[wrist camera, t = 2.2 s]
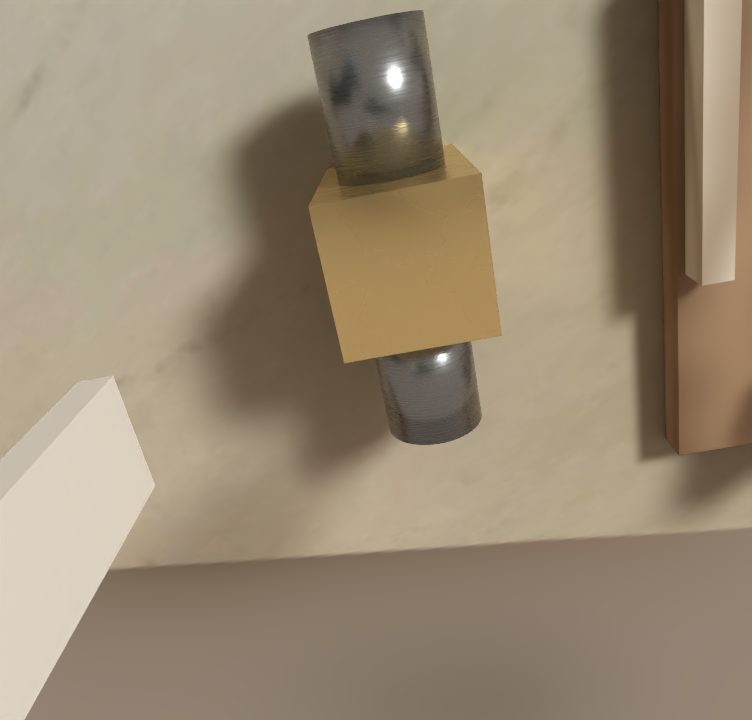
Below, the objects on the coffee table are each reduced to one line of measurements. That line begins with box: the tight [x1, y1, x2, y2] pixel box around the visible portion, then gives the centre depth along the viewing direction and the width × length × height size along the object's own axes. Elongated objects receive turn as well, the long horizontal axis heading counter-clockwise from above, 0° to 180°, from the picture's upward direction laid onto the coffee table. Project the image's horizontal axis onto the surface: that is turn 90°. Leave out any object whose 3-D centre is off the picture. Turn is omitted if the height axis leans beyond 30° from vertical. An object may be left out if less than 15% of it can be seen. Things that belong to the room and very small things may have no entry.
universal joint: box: [307, 10, 502, 445], centre depth 23 cm, size 5×14×8 cm, turn 11°
